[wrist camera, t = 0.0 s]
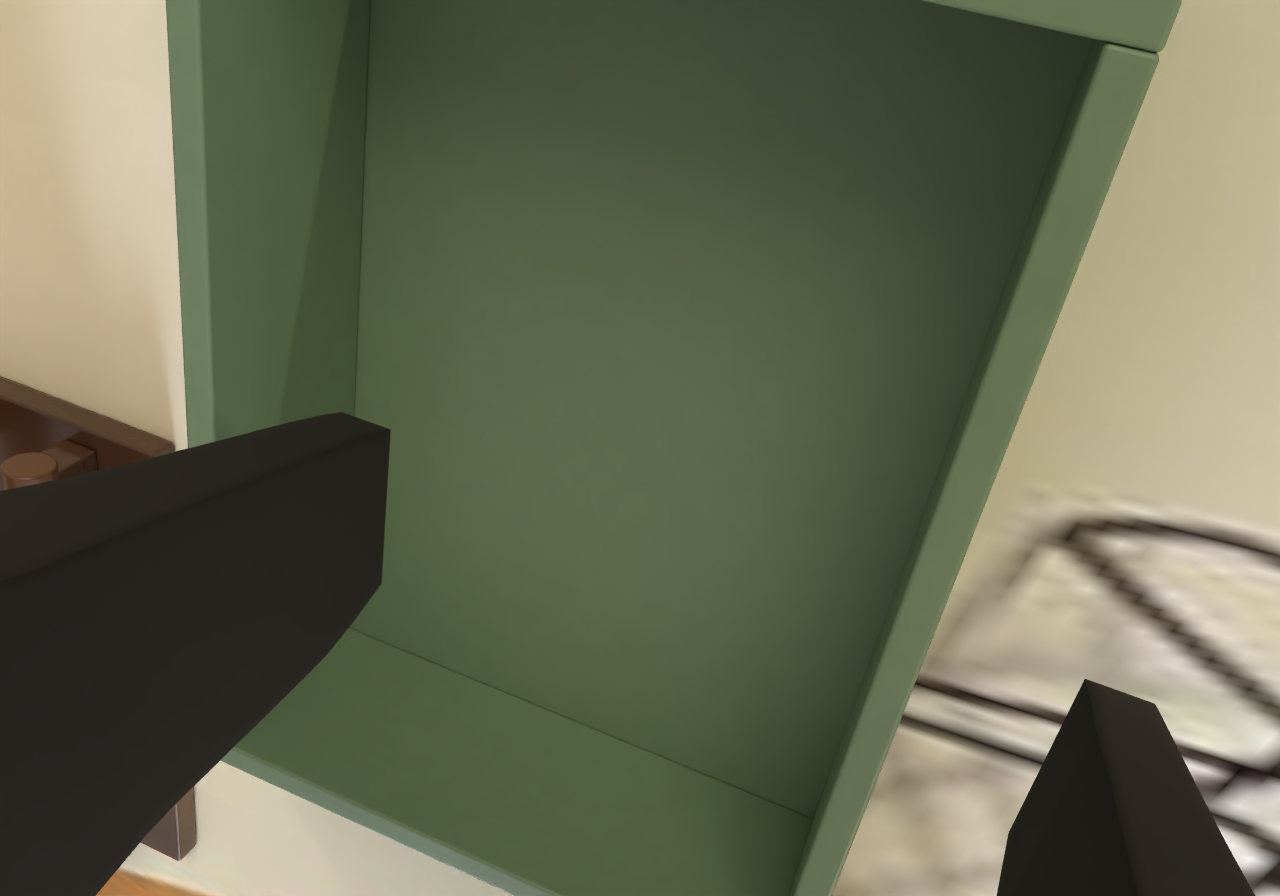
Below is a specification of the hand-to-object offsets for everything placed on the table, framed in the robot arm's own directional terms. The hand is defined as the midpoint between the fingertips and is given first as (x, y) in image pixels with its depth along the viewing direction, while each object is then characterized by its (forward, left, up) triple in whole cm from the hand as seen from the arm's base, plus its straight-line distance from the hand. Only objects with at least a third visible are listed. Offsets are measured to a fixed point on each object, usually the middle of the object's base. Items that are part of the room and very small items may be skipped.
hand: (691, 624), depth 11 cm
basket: (-3, +4, -10) cm, 11 cm away
